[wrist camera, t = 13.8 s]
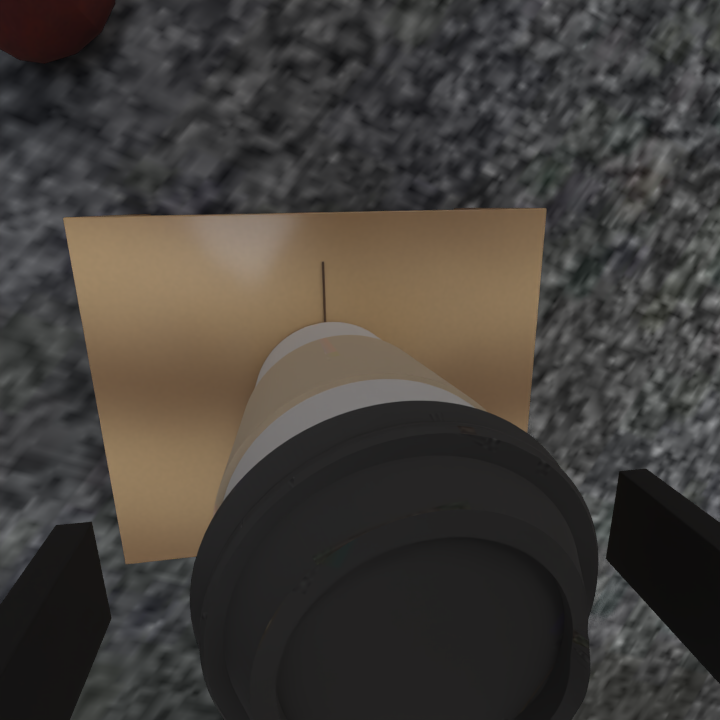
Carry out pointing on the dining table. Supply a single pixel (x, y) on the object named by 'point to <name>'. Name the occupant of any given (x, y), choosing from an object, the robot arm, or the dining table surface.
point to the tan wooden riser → (280, 329)
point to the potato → (50, 27)
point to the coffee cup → (389, 550)
